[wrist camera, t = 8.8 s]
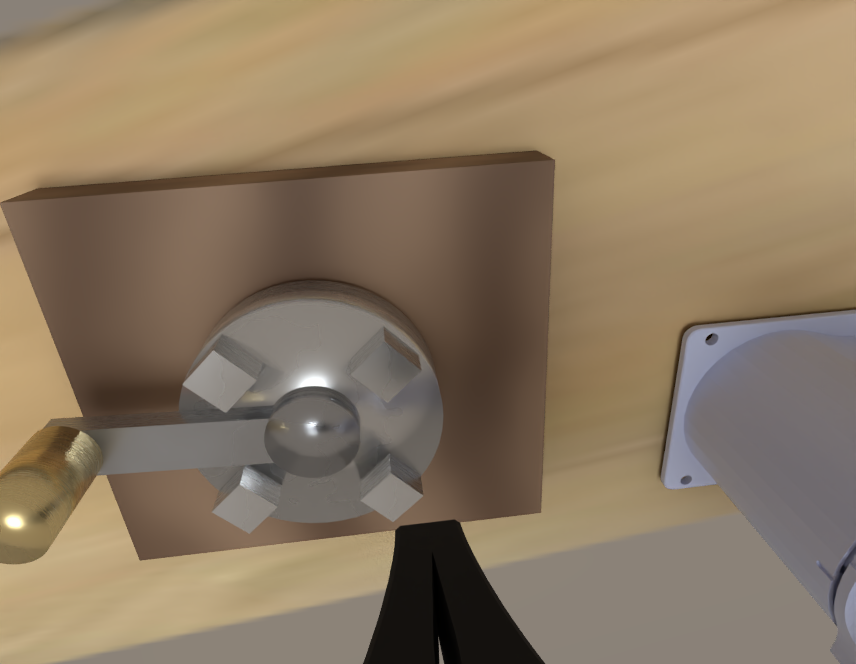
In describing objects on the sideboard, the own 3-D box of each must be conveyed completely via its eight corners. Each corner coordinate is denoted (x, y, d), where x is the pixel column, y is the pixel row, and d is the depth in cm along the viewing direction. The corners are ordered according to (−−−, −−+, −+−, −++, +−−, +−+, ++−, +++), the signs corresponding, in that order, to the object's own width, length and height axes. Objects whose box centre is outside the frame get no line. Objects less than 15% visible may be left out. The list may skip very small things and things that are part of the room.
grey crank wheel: (435, 274, 18) (464, 360, 13) (436, 475, 21) (459, 605, 16) (35, 292, 17) (-111, 393, 12) (104, 499, 20) (15, 648, 15)
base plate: (536, 150, 19) (556, 160, 17) (528, 480, 25) (541, 514, 23) (36, 188, 18) (-3, 203, 16) (156, 523, 24) (138, 562, 22)
